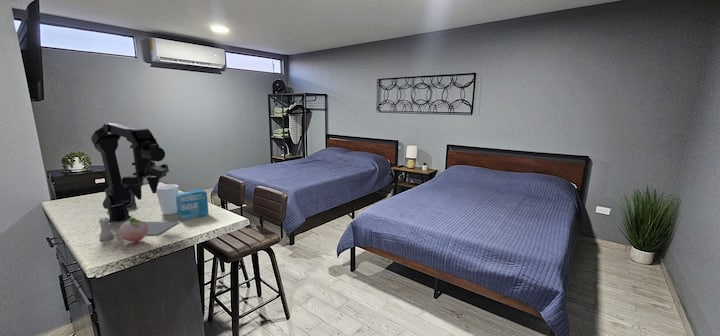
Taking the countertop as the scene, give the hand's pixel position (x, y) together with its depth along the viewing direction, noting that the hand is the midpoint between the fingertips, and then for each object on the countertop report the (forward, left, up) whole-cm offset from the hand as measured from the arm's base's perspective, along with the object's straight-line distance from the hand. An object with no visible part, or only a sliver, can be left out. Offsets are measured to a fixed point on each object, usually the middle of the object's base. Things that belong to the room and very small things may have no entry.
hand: (147, 196), depth 126 cm
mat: (+1, -2, -14) cm, 14 cm away
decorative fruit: (+5, -16, -14) cm, 22 cm away
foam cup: (-4, +19, -14) cm, 24 cm away
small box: (-34, +27, -14) cm, 46 cm away
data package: (+11, +13, -14) cm, 22 cm away
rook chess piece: (-9, -12, -14) cm, 20 cm away
